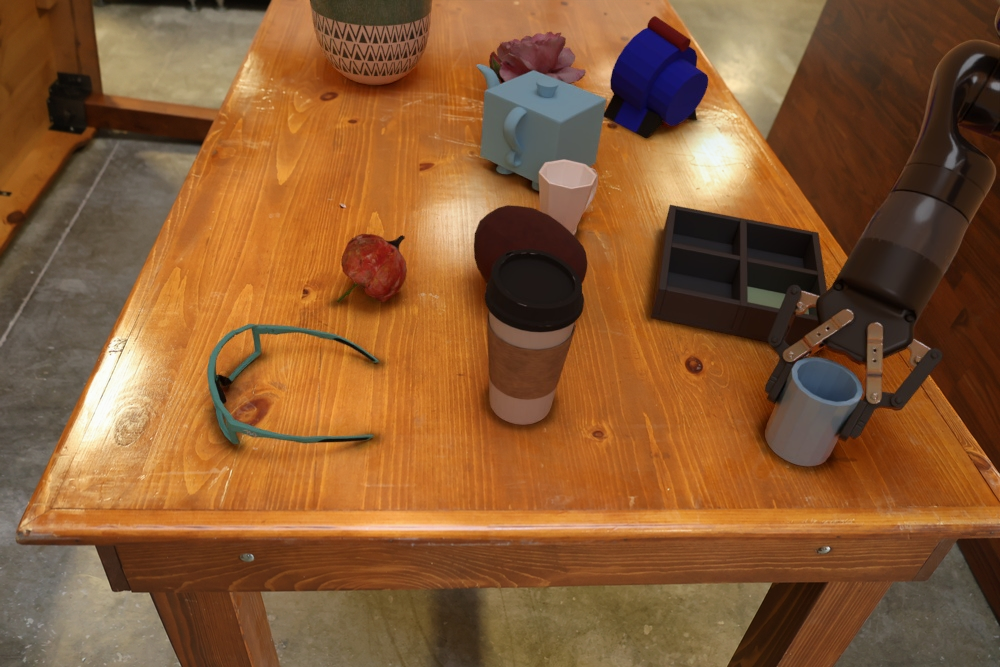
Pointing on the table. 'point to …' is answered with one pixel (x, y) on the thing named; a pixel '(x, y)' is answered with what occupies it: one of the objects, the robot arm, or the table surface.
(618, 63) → the alarm clock
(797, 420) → the blue cup
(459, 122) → the table surface
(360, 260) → the pomegranate
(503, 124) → the teapot
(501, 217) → the dark brown oval ball
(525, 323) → the coffee cup
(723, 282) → the black divided tray
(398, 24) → the planter
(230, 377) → the sunglasses
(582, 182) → the cup
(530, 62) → the flower
